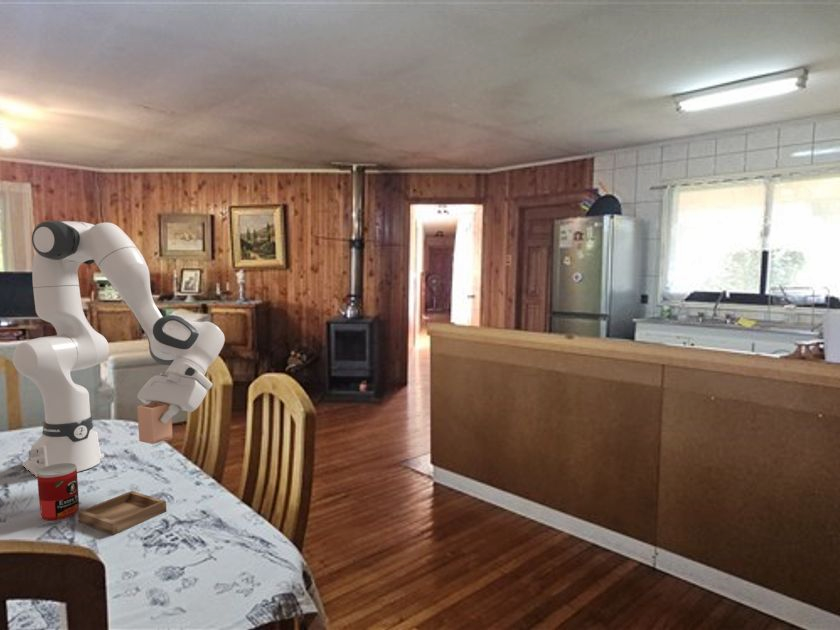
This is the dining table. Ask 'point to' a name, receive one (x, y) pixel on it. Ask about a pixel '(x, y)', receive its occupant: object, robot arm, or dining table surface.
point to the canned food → (58, 491)
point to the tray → (122, 512)
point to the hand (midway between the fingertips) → (152, 420)
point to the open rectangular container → (153, 423)
